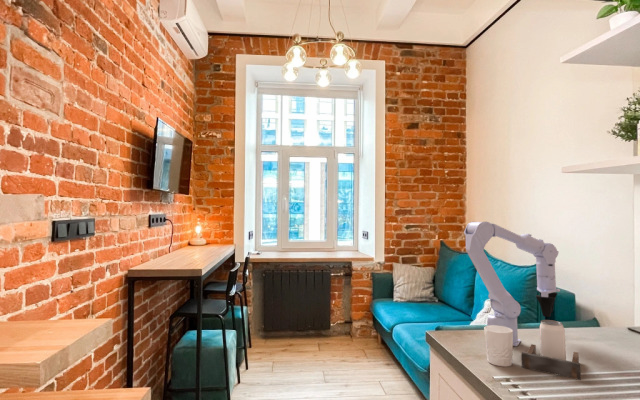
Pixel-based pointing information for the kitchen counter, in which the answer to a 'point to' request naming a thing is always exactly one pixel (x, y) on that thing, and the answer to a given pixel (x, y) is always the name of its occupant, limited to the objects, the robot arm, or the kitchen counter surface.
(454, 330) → the kitchen counter surface
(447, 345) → the kitchen counter surface
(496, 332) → the white cup
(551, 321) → the can
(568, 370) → the bay
